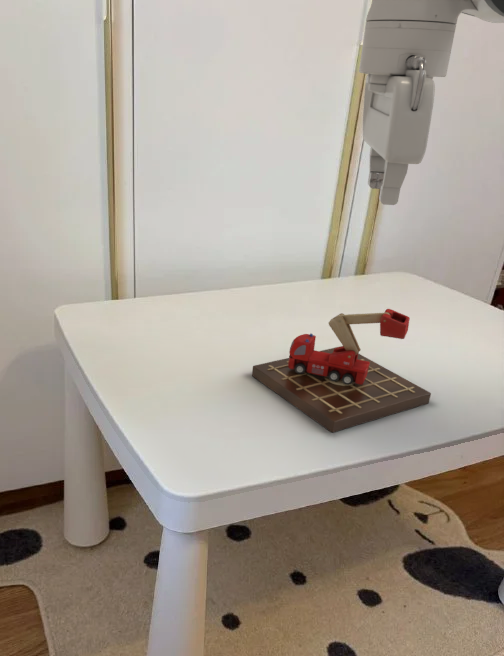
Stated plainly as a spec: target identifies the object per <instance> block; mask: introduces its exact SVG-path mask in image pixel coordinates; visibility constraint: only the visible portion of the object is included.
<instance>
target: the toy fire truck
mask: <svg viewBox="0 0 504 656" xmlns="http://www.w3.org/2000/svg"><path fill="white" fill-rule="evenodd" d="M364 324H365V325H366V324H367V325H368V324H379V333H380V334H379V335H380V337H387V338H393V339H399V340H405V338H406V336H407V334H408V332H409V325H410V316H408V315H405V314H403V313H400V312H398V311H396V310H394V309H391V308H386V310H384V312H370V313H351V314H349V313H348V314H345V313H338V314H337V315H336V316H334V317H333V318H331V319H330V320H329V321H328V326H329V327H330V329H331V330H332V332H333V333H334V335H335V336H336V337H337V339H338V340H339V342H340V343H341V346H342V347H340V346H336V347H334V348H335V349H334V351H333V353H331V354H330V353H325V352H320V351H321V350H315V347H316V346H315V345H316V338H317V337H316V336H317V335H315V334H313V333H303V334H299V335H298V336H296V337H295V338H293V340H292V342H291V344H290V346H289V351H288V353H289V356H288V358H289V361H288V367H289V368H290V369H295V371H296V373H298V374H303V373H304V372H305V371H306V372H307V373H312V374H316V375H320V376H325V377H327V376H329V379H330V380H331V381H338V380H339V379H340V378H342V381H343V383H344V384H347V385H349V384H352V382H353V381H355V383H356V384H361V385H362V384H363V382H364V380H365V378H366V376H367V373H368V368H369V365H370V362H368V361H363V360H358V359H357V358H358V353H359V354H360V352H361V348H360V347H361V346H360V344H359V343H358V339H357V338H356V335H355V334H354V331H353V328H352V327H351V325H364Z"/></svg>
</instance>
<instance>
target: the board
mask: <svg viewBox="0 0 504 656" xmlns="http://www.w3.org/2000/svg"><path fill="white" fill-rule="evenodd" d="M342 346H343V345H340V346H339V347H342ZM335 348H336V347H332V348H327V349H322V350H319V351H320V352H325V353H330V354H331V353H333V351H334V349H335ZM357 359H358V360H363V361H368V362H370V365H369V368H368V373H367V376H366V378H365V380H364V382H363V384H362V385H361V384H356V383H355V381H353V382H352V384H349V385H347V384H344V383H343V381H342V378H340V379H339V380H338V381H331V380H330V379H329V376H327V377H325V376H320V375H316V374H312V373H307V372H306V371H305V372H304V373H303V374H298V373H296V371H295V369H290V368H289V367H288V361H289V357H285V358H281V359H277V360H273V361H268V362H264V363H263V362H262V363H259V364H254V365H252V372H251V376H252V378H254V379H256V380H257V381H258V382H260V383H261V384H263V385H264V386H265V387H267V388H269V389H270V390H271V391H273V392H274V393H275V394H277V395H278V396H279V397H281V398H282V399H284V400H285V401H286V402H288V403H290V405H292V406H294V407H295V408H296V409H298V410H300V411H301V412H302V413H303V414H305V415H306V416H308V418H311V419H312V420H314V421H315V422H316V423H318V424H319V425H321V426H322V427H323V428H324V429H326V430H328V431H329V432H330V433H336V432H339V431H342V430H345V429H348V428H352V427H355V426H359V425H362V424H365V423H368V422H372V421H376V420H378V419H382V418H384V417H388V416H392V415H395V414H398V413H401V412H404V411H405V412H406V411H408V410H411V409H415V408H418V407H420V406H424V405H428V404H429V403H430V399H431V396H432V392H430V391H429V390H426V389H425V388H424V387H423V388H422V387H421V386H419V385H417V384H415V383H414V382H412V381H410V380H408V379H406V378H405V377H403V376H401V375H399V374H398V373H396V372H393V371H392V370H391V369H388V368H386V367H385V366H383V365H381V364H379V363H377V362H375V361H373V360H371V359H370V358H368V357H366V356H364V355H362V354H361V353H360V352H359V353H358V358H357Z"/></svg>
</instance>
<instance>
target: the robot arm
mask: <svg viewBox="0 0 504 656" xmlns="http://www.w3.org/2000/svg"><path fill="white" fill-rule="evenodd" d="M461 14H464V15H468V16H472V17H475V18H478V19H479V20H482V21H484V22H487V23H491V24H504V0H372V1H371V5H370V7H369V9H368V13H367V14H366V17H365V18H366V19H365V25H364V34H363V40H362V47H361V54H360V59H359V68H358V73H359V74H365V75H366V79H365V86H364V96H363V112H362V138H363V142H364V143H366V144H367V145H368V146H369V147H370V149H369V173H368V180H367V186H368V187H369V188H370V189H373V190H375V189H376V190H379V196H378V199H379V201H380V204H382V205H386V206H387V205H388V206H394V205H395V206H396V204H398V203H399V199H400V193H401V188H402V186H403V183H404V181H405V178H406V176H407V174H408V170H409V169H408V168H409V165H419V164H421V163H422V161H423V160H424V157H425V154H426V150H427V147H428V141H429V140H428V139H429V134H430V129H431V123H432V115H433V110H434V103H435V93H436V85H435V84H436V83H435V81H434V78H435V77H436V78H446V77H447V74H448V68H449V63H450V58H451V53H452V48H453V44H454V38H455V32H456V29H457V23H458V18H459V16H460V15H461Z"/></svg>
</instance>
